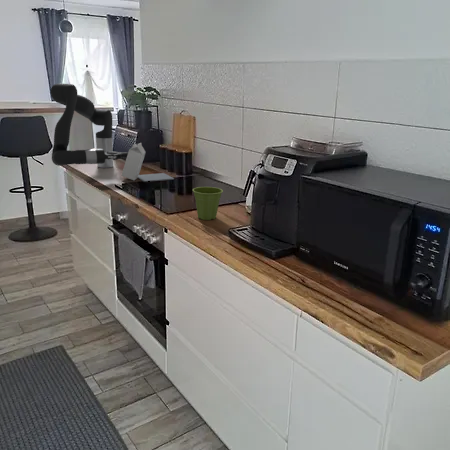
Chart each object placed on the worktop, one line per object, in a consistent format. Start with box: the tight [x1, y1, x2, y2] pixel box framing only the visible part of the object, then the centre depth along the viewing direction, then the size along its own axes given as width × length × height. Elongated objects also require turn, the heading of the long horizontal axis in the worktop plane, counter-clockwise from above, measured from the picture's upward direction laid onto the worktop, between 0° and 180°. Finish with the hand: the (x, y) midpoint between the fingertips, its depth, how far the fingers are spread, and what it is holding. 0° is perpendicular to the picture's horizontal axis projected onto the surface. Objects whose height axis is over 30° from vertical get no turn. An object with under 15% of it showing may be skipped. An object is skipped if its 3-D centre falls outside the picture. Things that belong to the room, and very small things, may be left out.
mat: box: [137, 172, 175, 183], centre depth 240 cm, size 15×17×1 cm
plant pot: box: [192, 186, 224, 221], centre depth 173 cm, size 12×12×11 cm
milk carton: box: [121, 142, 146, 181], centre depth 231 cm, size 7×7×19 cm
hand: (127, 154), depth 231 cm, fingers closed
